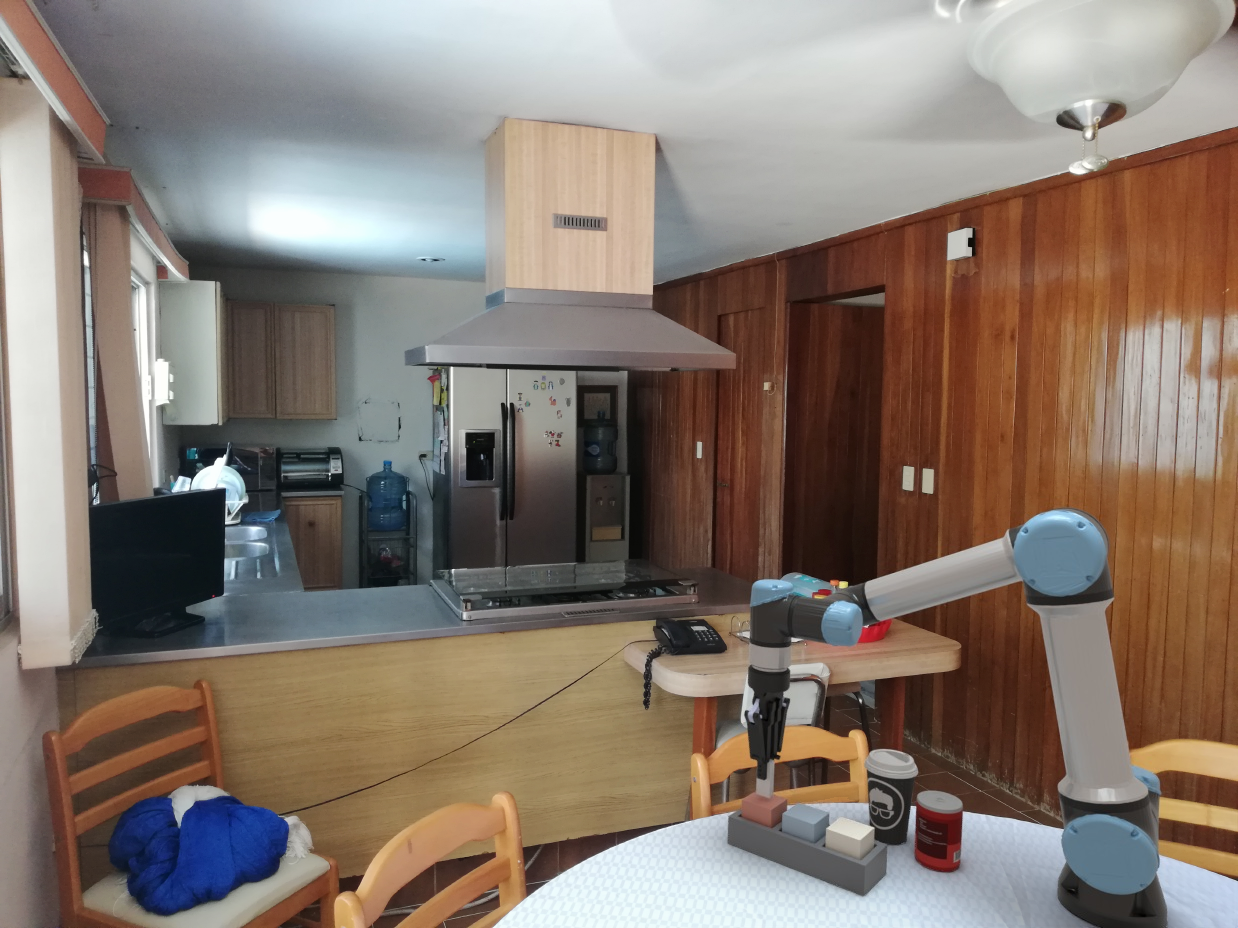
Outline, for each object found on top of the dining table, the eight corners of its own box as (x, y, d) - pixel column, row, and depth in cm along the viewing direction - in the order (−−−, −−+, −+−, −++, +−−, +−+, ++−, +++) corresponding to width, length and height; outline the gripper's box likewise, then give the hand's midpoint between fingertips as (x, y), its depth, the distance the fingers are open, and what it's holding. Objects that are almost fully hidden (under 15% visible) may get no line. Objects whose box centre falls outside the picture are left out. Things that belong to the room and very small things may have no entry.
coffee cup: (922, 849, 151) (926, 768, 150) (869, 847, 151) (872, 766, 150) (905, 825, 160) (908, 748, 160) (855, 823, 160) (858, 746, 160)
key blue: (828, 834, 147) (829, 812, 147) (813, 847, 142) (814, 824, 142) (797, 824, 151) (798, 802, 150) (781, 835, 146) (782, 813, 146)
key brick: (786, 820, 152) (787, 798, 152) (770, 831, 147) (771, 809, 147) (757, 810, 156) (758, 789, 156) (741, 821, 151) (741, 799, 151)
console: (886, 873, 142) (887, 844, 142) (863, 895, 135) (865, 865, 135) (753, 825, 158) (754, 799, 158) (727, 843, 151) (728, 815, 151)
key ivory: (873, 850, 142) (874, 827, 141) (859, 864, 137) (860, 840, 137) (840, 838, 145) (841, 816, 145) (825, 851, 141) (826, 828, 141)
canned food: (952, 851, 150) (955, 791, 150) (966, 874, 142) (969, 811, 142) (909, 848, 151) (911, 788, 151) (920, 870, 143) (923, 808, 143)
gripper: (768, 655, 158) (764, 777, 159) (732, 669, 148) (727, 799, 149) (804, 663, 153) (800, 789, 154) (769, 677, 143) (765, 812, 144)
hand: (764, 794), depth 151 cm, fingers closed
